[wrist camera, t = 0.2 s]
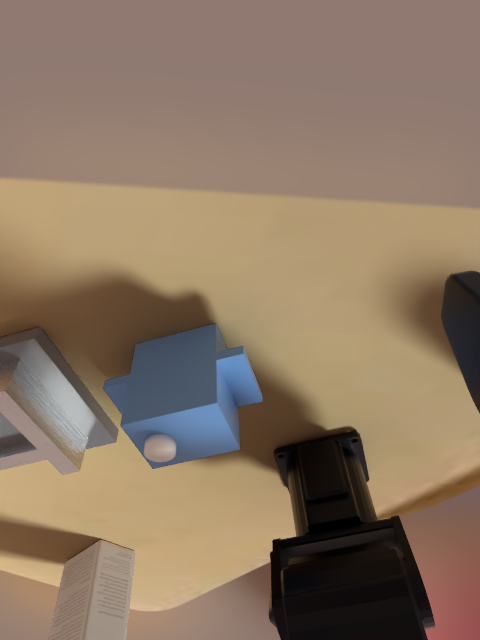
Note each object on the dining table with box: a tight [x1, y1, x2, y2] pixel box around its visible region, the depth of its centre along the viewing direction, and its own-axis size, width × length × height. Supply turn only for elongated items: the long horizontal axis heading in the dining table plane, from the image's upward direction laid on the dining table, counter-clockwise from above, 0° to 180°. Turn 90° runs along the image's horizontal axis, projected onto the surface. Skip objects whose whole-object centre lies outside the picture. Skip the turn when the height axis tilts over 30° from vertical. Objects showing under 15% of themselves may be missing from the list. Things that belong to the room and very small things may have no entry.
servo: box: [103, 323, 263, 469], centre depth 25 cm, size 4×8×7 cm, turn 106°
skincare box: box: [48, 540, 135, 640], centre depth 39 cm, size 6×4×12 cm
